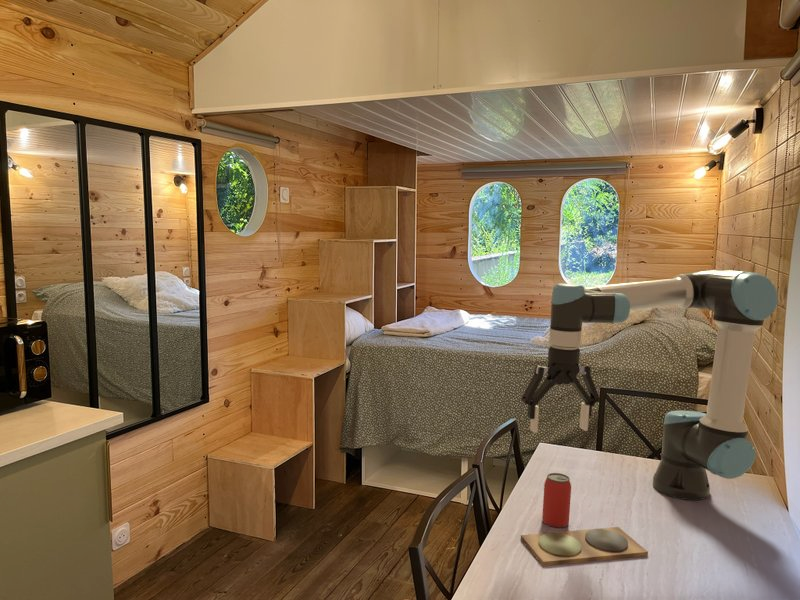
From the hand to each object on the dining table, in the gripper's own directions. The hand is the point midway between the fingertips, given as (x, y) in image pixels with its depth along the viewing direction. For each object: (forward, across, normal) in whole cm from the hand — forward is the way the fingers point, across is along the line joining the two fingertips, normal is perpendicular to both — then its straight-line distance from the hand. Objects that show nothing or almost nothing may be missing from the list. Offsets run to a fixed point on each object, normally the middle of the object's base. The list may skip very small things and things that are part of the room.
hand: (558, 430), depth 153 cm
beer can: (+24, -1, 0) cm, 24 cm away
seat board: (+24, -1, +13) cm, 27 cm away
